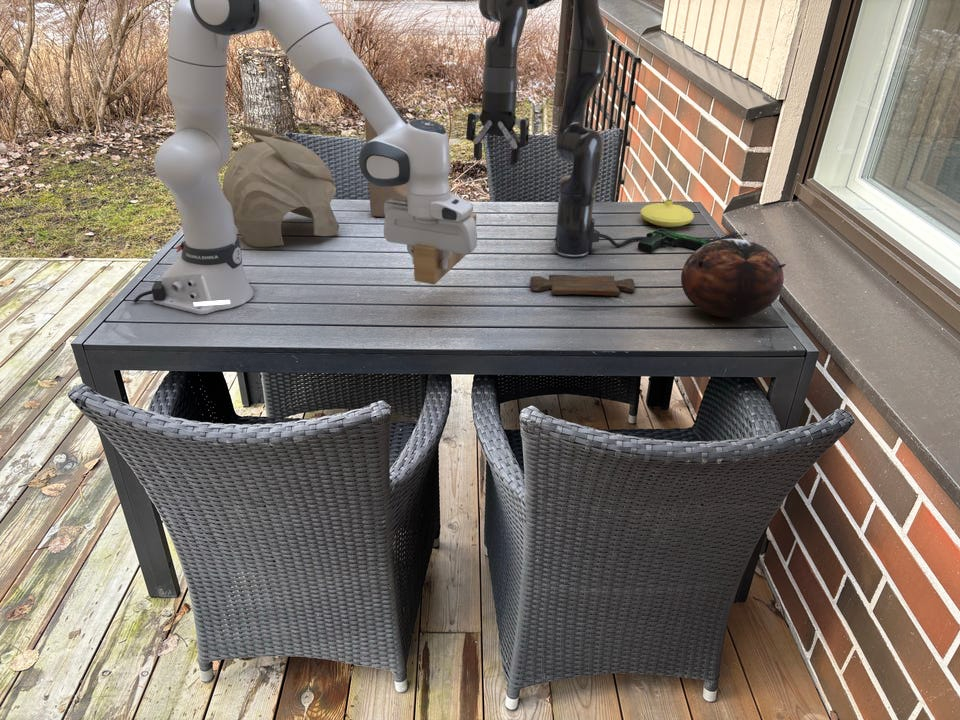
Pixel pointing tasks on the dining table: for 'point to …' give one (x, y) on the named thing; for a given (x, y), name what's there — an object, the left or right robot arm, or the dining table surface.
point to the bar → (432, 262)
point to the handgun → (669, 240)
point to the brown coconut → (732, 278)
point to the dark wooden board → (581, 285)
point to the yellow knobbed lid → (667, 214)
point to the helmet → (277, 188)
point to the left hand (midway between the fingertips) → (430, 266)
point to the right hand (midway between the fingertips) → (496, 162)
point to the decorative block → (381, 193)
